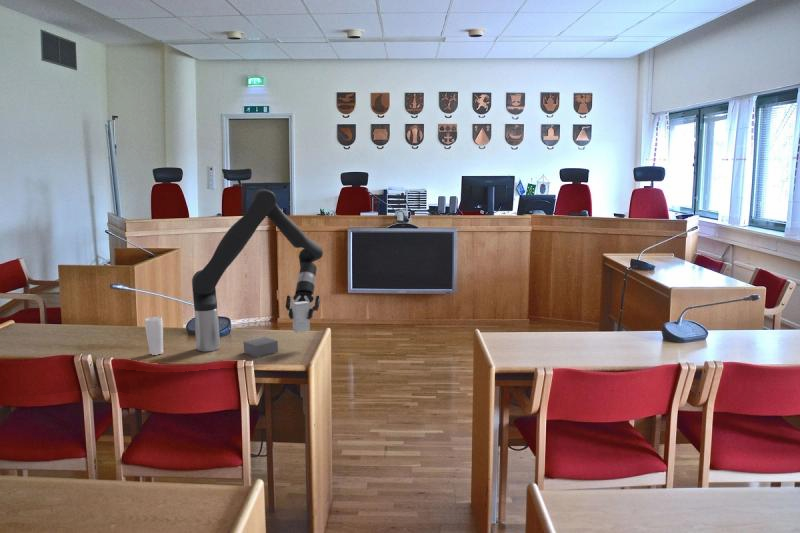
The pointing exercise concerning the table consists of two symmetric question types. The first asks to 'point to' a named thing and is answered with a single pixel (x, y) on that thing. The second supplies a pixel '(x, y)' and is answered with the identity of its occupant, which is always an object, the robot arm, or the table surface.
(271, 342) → the charcoal block
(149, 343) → the drinking glass
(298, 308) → the skincare box
